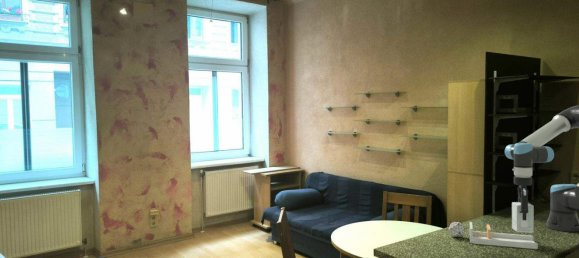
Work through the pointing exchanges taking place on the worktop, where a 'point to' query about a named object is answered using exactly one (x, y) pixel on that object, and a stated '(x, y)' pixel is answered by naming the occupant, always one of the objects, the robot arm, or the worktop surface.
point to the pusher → (488, 232)
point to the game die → (456, 229)
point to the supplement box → (517, 218)
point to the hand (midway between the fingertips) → (522, 224)
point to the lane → (502, 239)
